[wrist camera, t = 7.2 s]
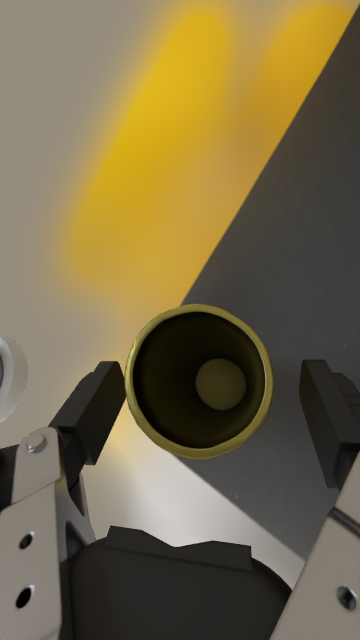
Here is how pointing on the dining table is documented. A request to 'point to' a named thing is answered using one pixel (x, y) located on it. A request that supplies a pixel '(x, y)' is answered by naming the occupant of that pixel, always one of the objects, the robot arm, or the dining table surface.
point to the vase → (198, 381)
